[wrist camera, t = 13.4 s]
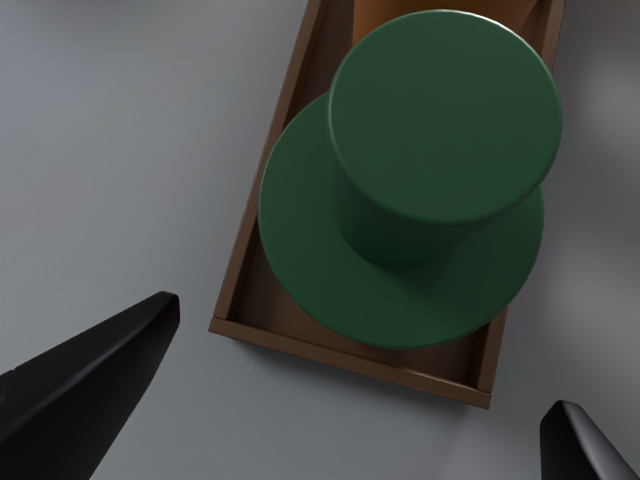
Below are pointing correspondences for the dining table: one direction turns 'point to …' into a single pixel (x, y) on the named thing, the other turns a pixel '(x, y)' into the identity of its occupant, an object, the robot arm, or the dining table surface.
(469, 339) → the tray
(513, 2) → the amber bottle
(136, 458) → the dining table surface
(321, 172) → the green bottle
